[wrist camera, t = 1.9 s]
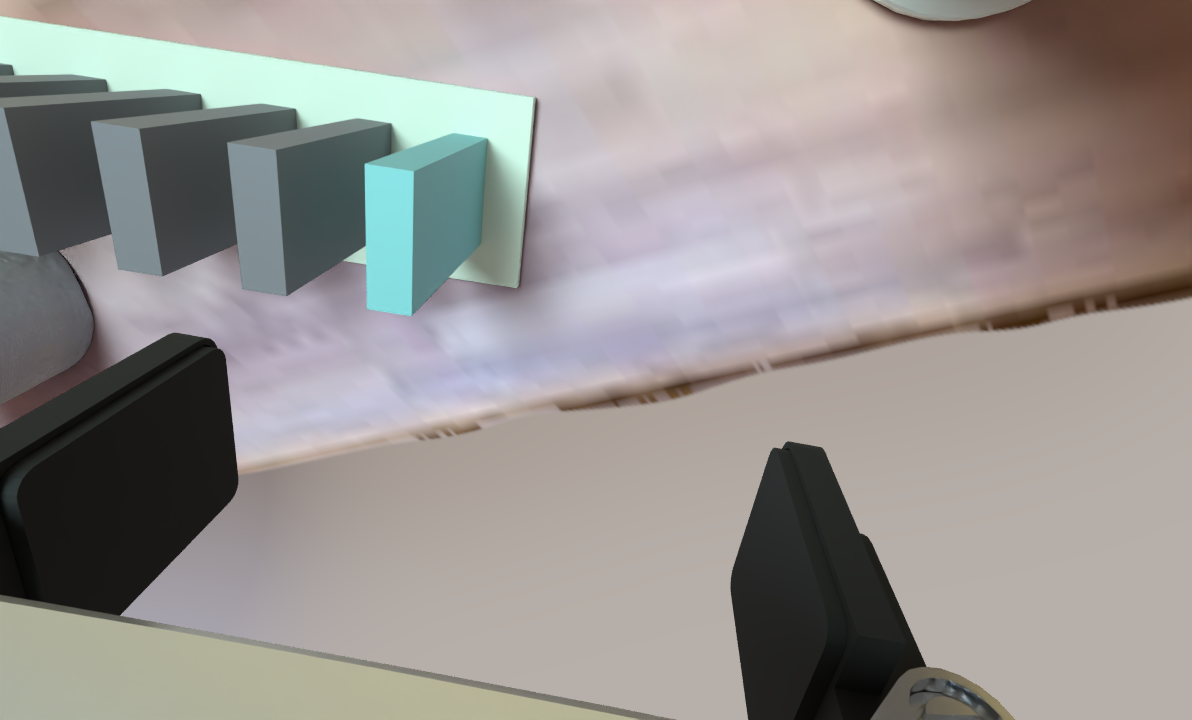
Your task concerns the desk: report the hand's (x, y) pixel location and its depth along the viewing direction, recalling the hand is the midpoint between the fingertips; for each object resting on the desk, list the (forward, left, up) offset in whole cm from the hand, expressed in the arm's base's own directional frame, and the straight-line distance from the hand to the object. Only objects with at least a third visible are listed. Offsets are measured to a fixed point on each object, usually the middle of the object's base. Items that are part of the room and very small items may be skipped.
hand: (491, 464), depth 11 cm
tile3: (+15, 0, -22) cm, 26 cm away
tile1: (+6, 0, -22) cm, 23 cm away
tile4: (+20, 0, -22) cm, 29 cm away
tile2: (+11, 0, -22) cm, 24 cm away
